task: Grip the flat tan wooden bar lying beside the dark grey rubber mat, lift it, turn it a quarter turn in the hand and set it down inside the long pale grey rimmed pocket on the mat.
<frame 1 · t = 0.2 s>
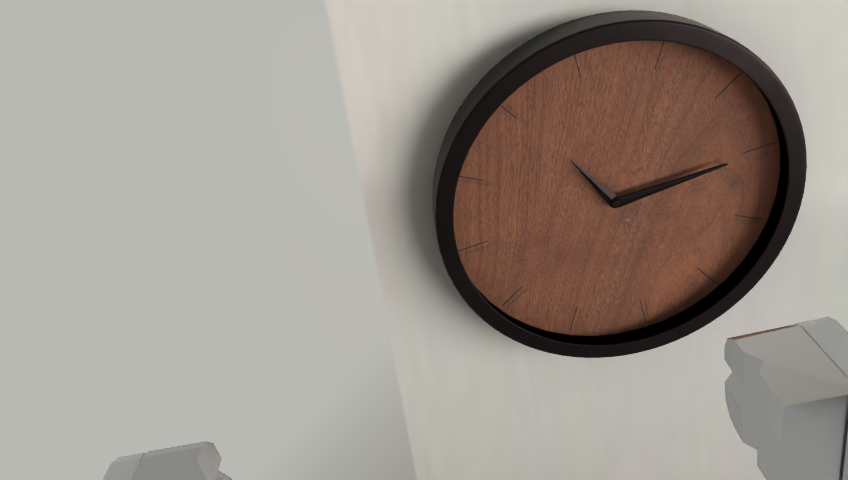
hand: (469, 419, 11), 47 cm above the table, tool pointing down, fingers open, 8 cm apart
wall clock: (606, 189, 62), on the table
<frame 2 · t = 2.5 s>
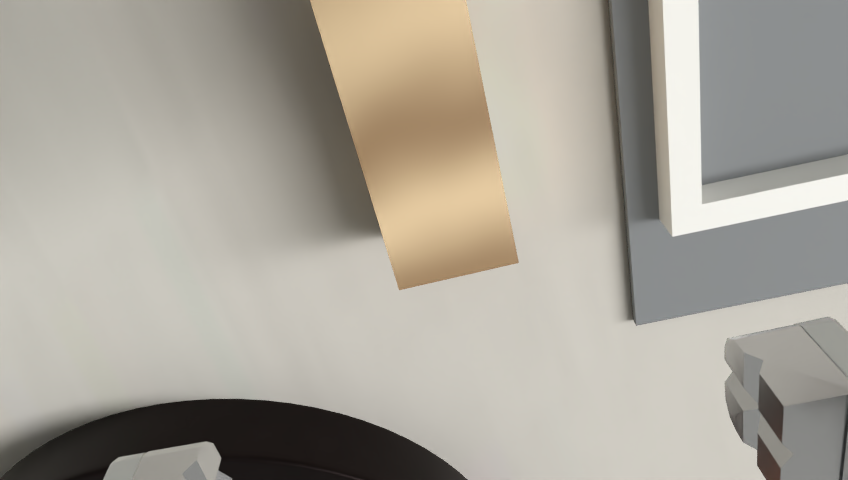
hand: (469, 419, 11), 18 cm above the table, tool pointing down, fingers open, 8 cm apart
tan wooden bar: (414, 85, 27), on the table
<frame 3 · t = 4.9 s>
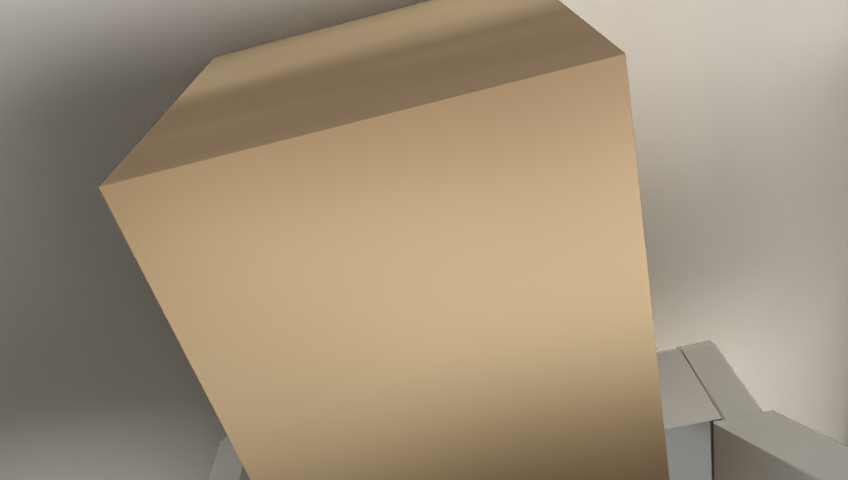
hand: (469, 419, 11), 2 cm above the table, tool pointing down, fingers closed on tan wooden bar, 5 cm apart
tan wooden bar: (459, 350, 13), on the table, touching gripper
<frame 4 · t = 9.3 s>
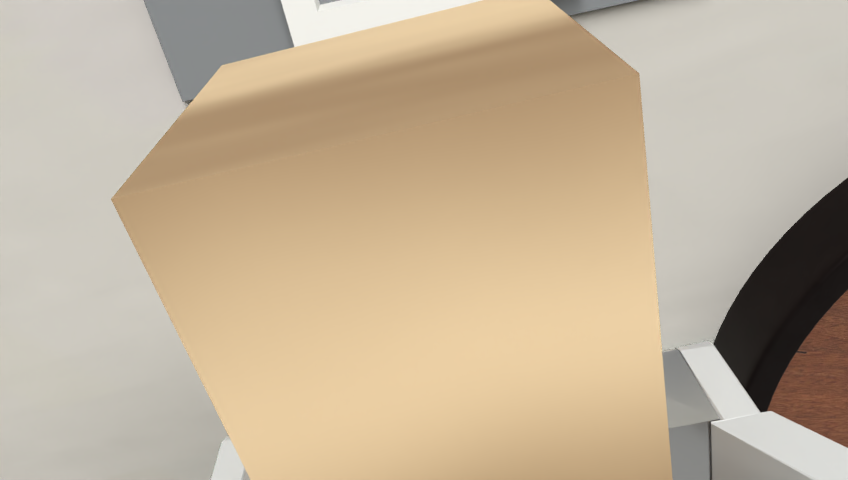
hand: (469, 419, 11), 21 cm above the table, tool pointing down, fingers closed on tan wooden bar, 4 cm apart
tan wooden bar: (461, 358, 13), point 19 cm above the table, touching gripper
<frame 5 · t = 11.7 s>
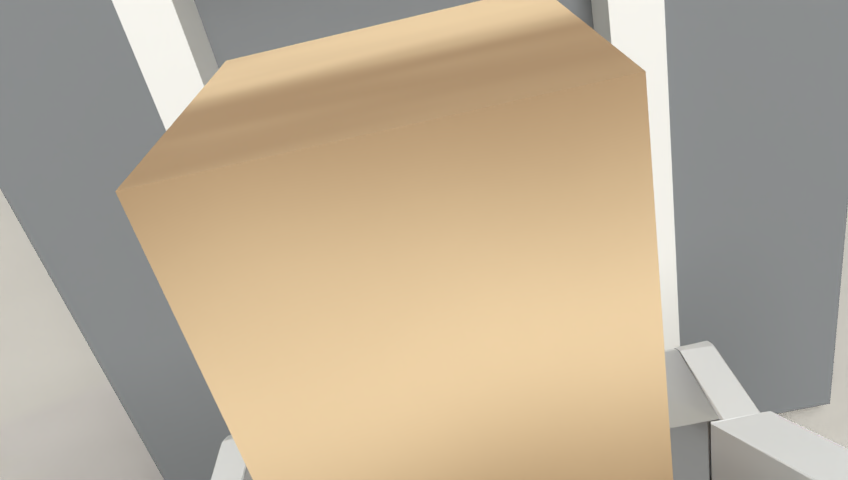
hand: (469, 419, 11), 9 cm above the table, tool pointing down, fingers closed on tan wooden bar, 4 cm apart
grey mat: (437, 184, 19), on the table
tan wooden bar: (462, 358, 13), point 7 cm above the table, touching gripper
when the fingers open (3 cm above the table, at t = 13.7 s): tan wooden bar drops 1 cm, resting on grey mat.
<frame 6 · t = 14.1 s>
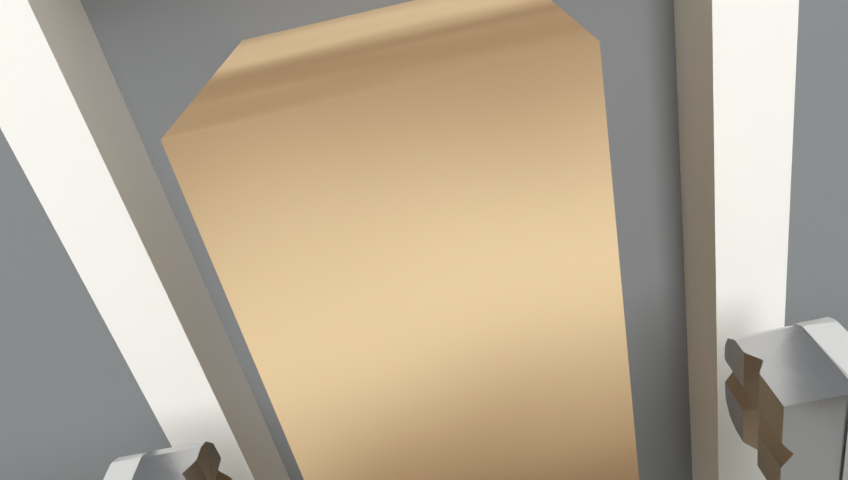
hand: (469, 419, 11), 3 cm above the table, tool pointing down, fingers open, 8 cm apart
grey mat: (453, 296, 14), on the table
tan wooden bar: (452, 315, 14), resting on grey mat
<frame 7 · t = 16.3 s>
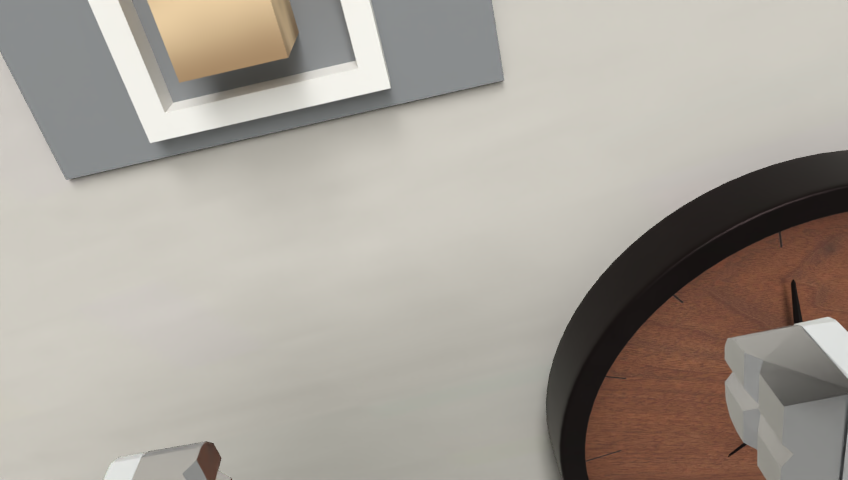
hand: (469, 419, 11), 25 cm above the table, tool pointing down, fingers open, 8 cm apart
wall clock: (785, 373, 45), on the table
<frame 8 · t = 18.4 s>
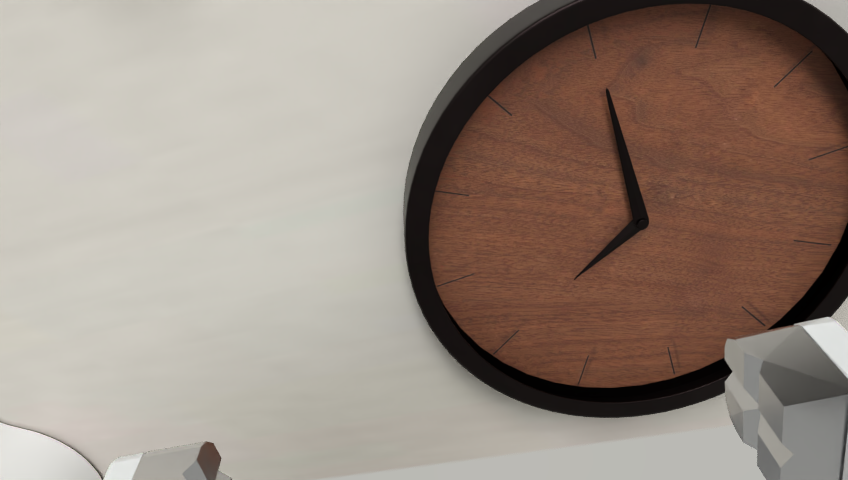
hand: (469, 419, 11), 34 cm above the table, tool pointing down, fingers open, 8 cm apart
wall clock: (628, 205, 48), on the table
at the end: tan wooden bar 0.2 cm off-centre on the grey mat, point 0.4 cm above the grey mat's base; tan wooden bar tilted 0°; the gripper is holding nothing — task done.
